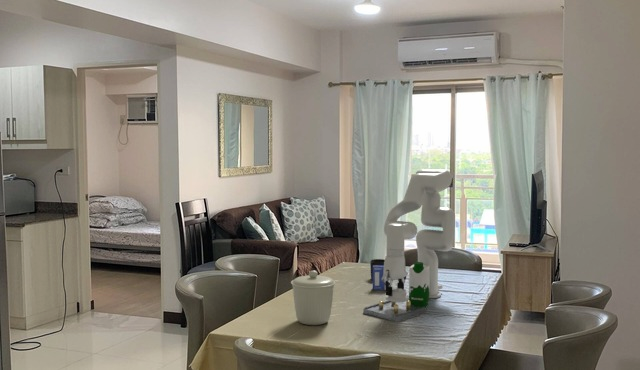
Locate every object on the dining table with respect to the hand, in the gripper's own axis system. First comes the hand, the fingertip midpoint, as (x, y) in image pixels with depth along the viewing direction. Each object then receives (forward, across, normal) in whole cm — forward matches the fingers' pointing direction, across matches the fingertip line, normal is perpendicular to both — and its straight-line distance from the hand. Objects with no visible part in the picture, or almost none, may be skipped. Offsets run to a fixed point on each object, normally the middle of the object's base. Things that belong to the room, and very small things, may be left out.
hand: (394, 293), depth 267 cm
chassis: (+8, 0, 0) cm, 8 cm away
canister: (+9, +34, -15) cm, 38 cm away
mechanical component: (+3, 0, +1) cm, 3 cm away
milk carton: (+9, -16, +1) cm, 18 cm away
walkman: (+8, -29, -32) cm, 44 cm away
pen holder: (+8, -46, -47) cm, 66 cm away
